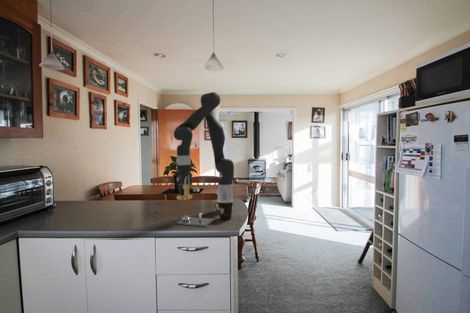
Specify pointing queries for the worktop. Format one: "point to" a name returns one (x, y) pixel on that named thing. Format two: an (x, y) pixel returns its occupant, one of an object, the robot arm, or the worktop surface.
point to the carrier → (195, 221)
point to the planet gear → (185, 193)
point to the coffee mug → (224, 209)
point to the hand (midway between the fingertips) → (184, 194)
